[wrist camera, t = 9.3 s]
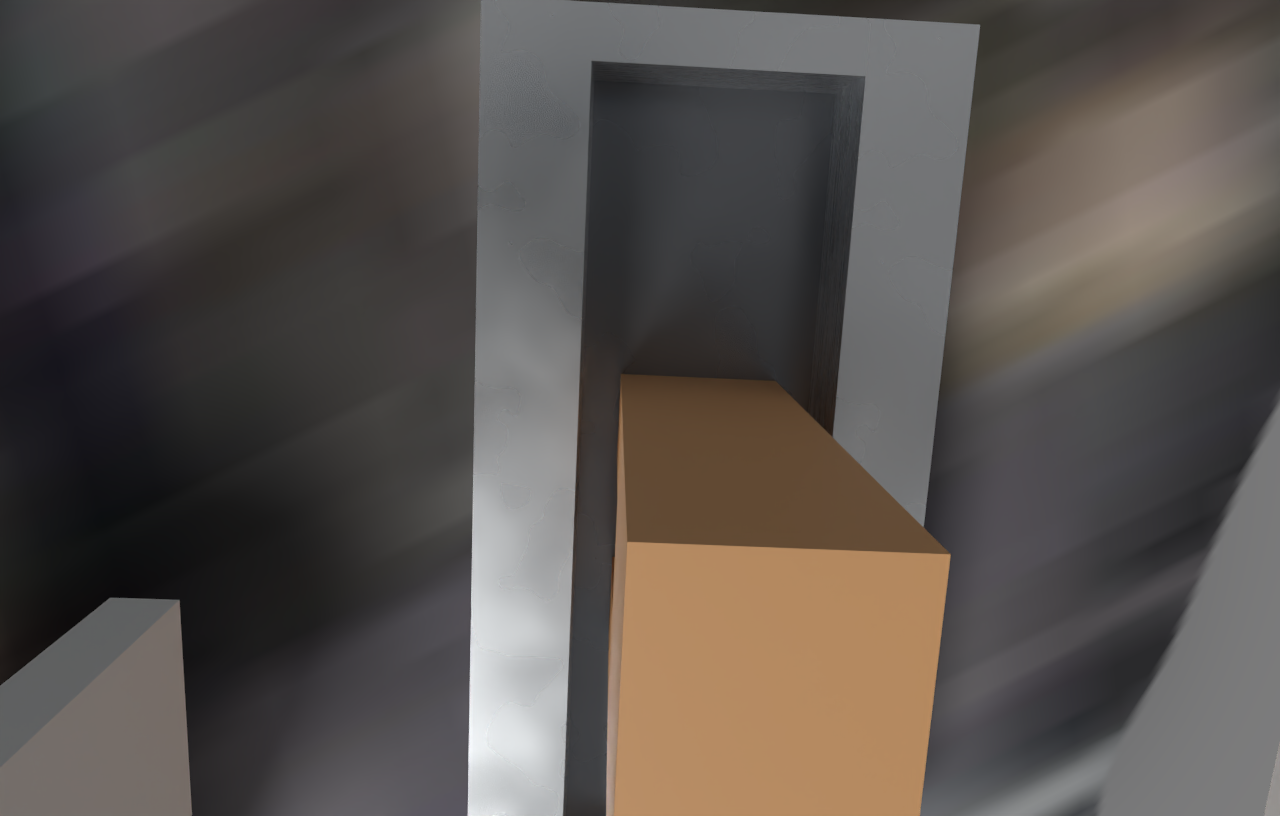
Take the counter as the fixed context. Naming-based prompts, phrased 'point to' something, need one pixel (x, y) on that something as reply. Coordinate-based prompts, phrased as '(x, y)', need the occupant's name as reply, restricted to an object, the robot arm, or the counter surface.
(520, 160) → the grey rectangular tray
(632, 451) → the cardboard-colored brick
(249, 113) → the counter surface
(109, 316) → the counter surface
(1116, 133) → the counter surface
